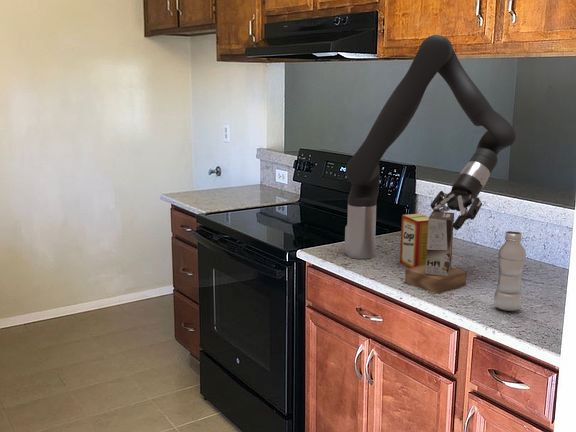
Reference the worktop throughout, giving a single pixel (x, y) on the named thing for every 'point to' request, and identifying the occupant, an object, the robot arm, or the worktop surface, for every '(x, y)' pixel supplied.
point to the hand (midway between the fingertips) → (442, 225)
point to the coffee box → (439, 243)
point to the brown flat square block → (435, 279)
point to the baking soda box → (414, 240)
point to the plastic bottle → (510, 273)
